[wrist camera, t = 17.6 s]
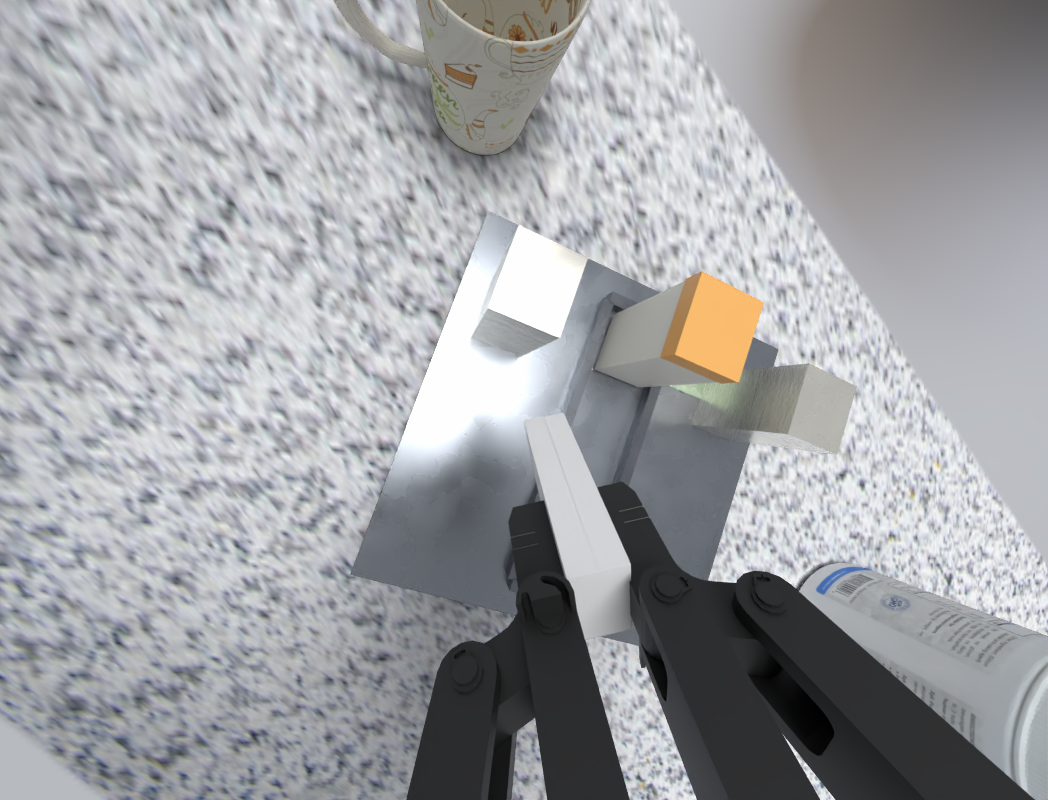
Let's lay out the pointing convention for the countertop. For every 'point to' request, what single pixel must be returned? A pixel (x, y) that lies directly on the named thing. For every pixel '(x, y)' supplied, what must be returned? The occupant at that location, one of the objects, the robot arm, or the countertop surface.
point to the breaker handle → (682, 336)
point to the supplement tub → (951, 663)
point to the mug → (482, 60)
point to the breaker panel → (592, 413)
